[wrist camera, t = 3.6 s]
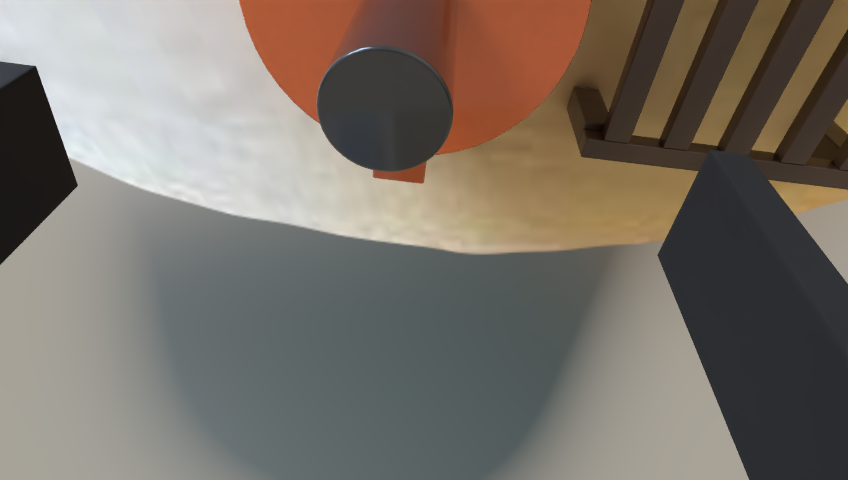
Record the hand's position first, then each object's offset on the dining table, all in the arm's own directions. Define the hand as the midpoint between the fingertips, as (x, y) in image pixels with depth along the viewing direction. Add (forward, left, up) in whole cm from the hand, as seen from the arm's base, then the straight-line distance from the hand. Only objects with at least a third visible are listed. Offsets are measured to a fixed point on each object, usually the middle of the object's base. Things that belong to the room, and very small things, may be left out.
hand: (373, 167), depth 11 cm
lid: (0, 0, -11) cm, 11 cm away
